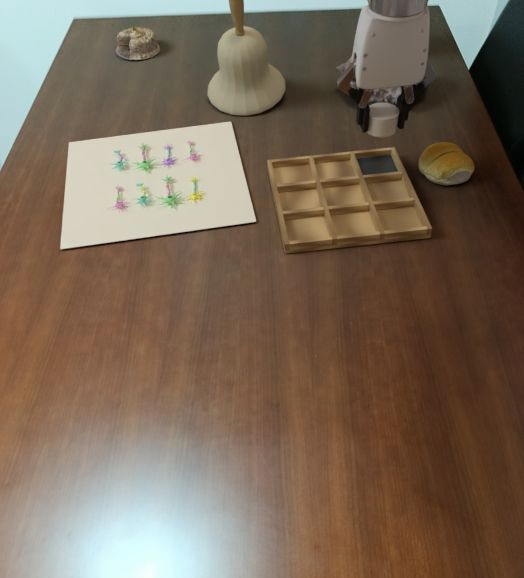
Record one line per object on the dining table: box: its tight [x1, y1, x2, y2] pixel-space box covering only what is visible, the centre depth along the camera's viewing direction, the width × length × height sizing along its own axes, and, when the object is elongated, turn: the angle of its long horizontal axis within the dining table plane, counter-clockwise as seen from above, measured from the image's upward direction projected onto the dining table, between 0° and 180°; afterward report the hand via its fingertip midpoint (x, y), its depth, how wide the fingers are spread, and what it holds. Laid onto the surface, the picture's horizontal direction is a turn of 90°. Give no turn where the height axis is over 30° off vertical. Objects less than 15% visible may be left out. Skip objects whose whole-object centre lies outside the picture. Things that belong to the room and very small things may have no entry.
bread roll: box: [418, 141, 475, 186], centre depth 95 cm, size 8×9×4 cm
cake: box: [115, 26, 161, 61], centre depth 128 cm, size 10×10×5 cm
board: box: [266, 146, 433, 255], centre depth 92 cm, size 22×22×2 cm
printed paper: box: [59, 121, 257, 250], centre depth 98 cm, size 30×30×2 cm
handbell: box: [207, 0, 286, 117], centre depth 104 cm, size 15×15×25 cm
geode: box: [335, 56, 428, 106], centre depth 110 cm, size 17×9×15 cm
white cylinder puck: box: [366, 102, 399, 138], centre depth 90 cm, size 5×5×3 cm
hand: (381, 125), depth 91 cm, fingers closed on white cylinder puck, 5 cm apart
